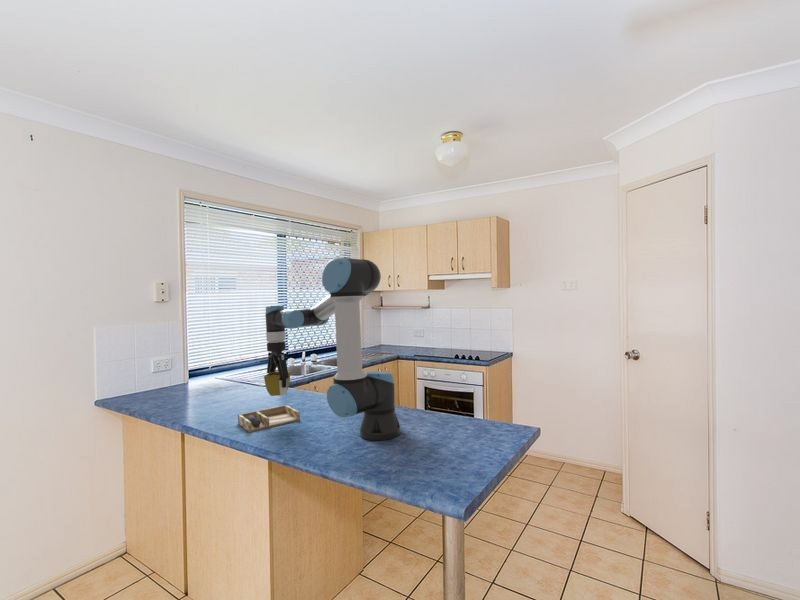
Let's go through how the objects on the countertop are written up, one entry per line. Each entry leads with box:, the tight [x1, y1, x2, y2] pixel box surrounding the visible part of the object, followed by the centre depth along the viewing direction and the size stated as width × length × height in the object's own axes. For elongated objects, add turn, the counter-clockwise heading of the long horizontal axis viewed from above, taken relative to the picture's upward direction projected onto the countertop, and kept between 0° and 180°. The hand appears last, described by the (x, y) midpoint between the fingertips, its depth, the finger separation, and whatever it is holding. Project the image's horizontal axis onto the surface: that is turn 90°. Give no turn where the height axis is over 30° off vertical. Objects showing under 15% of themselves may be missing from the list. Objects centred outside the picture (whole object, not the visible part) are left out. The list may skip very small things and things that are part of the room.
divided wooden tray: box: [237, 404, 301, 433], centre depth 168 cm, size 15×21×4 cm
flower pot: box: [263, 370, 291, 397], centre depth 168 cm, size 9×9×9 cm
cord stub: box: [247, 415, 260, 426], centre depth 163 cm, size 11×3×3 cm, turn 38°
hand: (278, 392), depth 168 cm, fingers closed on flower pot, 11 cm apart
